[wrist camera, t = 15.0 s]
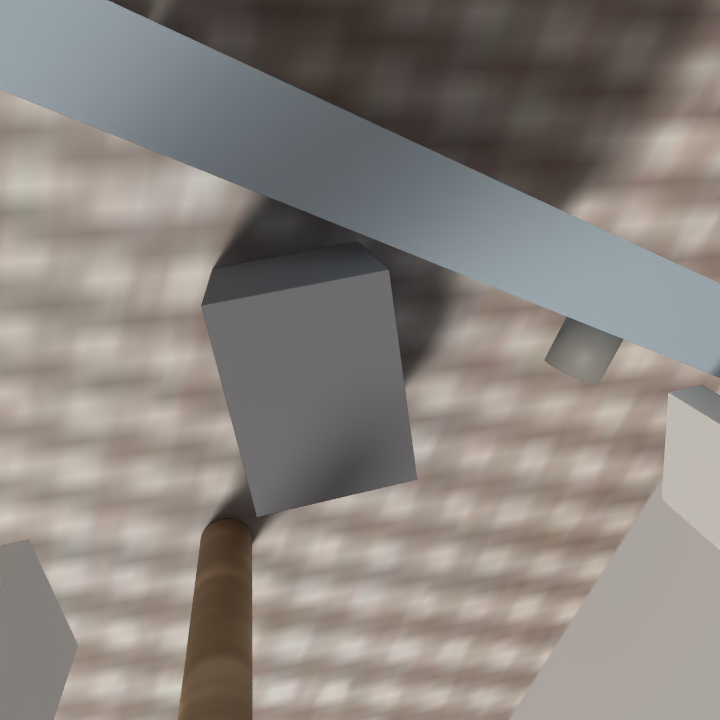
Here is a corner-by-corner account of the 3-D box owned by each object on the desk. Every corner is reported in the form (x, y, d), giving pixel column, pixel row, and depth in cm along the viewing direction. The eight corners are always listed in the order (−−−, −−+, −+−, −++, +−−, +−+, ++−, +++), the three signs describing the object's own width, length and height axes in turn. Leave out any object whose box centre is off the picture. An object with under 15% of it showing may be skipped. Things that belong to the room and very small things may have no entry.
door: (104, 165, 20) (-124, 199, 8) (132, 61, 20) (-77, -86, 7) (507, 320, 25) (757, 491, 13) (545, 242, 24) (854, 346, 12)
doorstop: (212, 267, 23) (201, 305, 18) (357, 241, 24) (388, 269, 19) (255, 439, 26) (256, 517, 21) (383, 410, 27) (417, 479, 22)
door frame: (40, 35, 20) (-598, -294, 5) (112, 25, 20) (-287, -316, 5) (207, 565, 28) (159, 1031, 13) (256, 553, 28) (263, 997, 14)
